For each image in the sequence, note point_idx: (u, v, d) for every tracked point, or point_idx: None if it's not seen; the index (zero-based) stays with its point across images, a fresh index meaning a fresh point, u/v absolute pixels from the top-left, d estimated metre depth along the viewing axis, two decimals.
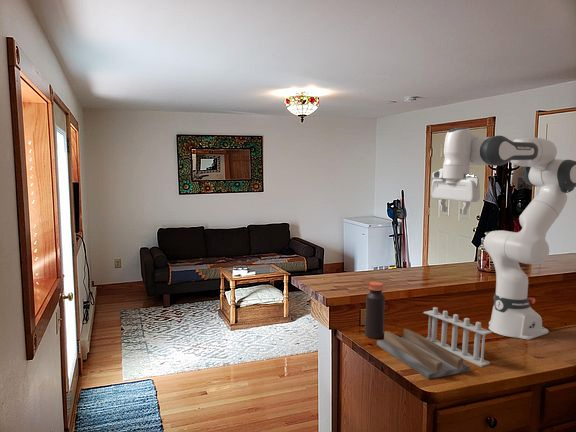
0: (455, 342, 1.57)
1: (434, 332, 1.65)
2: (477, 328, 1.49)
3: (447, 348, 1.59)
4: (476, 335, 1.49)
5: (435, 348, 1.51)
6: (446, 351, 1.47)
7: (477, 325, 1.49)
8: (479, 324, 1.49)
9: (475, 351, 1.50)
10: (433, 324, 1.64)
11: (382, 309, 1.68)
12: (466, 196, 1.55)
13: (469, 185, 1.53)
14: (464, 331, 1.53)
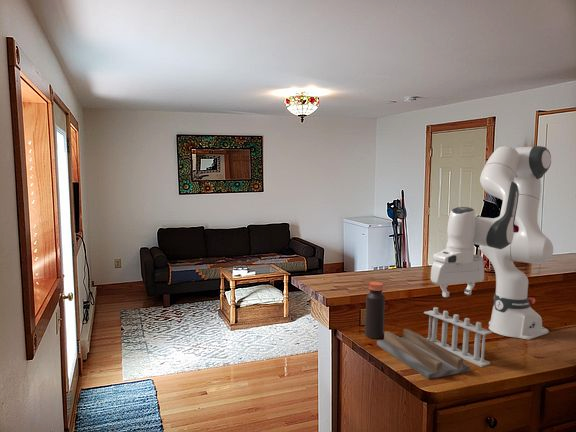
0: (455, 342, 1.57)
1: (434, 332, 1.65)
2: (477, 328, 1.49)
3: (447, 348, 1.59)
4: (476, 335, 1.49)
5: (435, 348, 1.51)
6: (446, 351, 1.47)
7: (477, 325, 1.49)
8: (479, 324, 1.49)
9: (475, 351, 1.50)
10: (434, 324, 1.64)
11: (382, 309, 1.68)
12: (478, 277, 1.57)
13: (482, 266, 1.57)
14: (464, 331, 1.53)
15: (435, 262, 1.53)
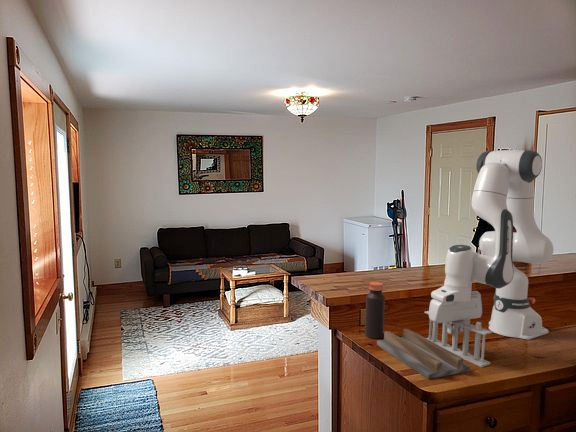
0: (456, 342, 1.57)
1: (435, 332, 1.65)
2: (477, 328, 1.49)
3: (448, 348, 1.59)
4: (476, 335, 1.49)
5: (435, 348, 1.51)
6: (446, 351, 1.47)
7: (477, 325, 1.49)
8: (479, 324, 1.48)
9: (475, 351, 1.50)
10: (434, 324, 1.64)
11: (382, 309, 1.68)
12: (476, 313, 1.58)
13: (480, 303, 1.58)
14: (464, 331, 1.53)
15: (433, 300, 1.54)
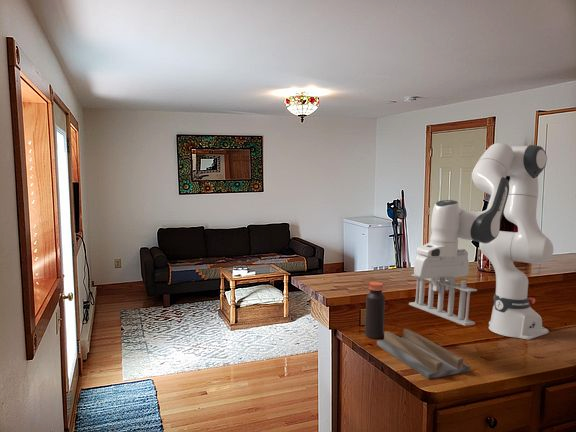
0: (441, 303, 1.52)
1: (421, 295, 1.60)
2: (462, 286, 1.44)
3: (433, 310, 1.55)
4: (461, 293, 1.45)
5: (435, 348, 1.51)
6: (446, 351, 1.47)
7: (462, 283, 1.44)
8: (464, 282, 1.44)
9: (460, 310, 1.45)
10: (421, 286, 1.60)
11: (382, 309, 1.68)
12: (463, 271, 1.54)
13: (466, 260, 1.54)
14: (450, 290, 1.49)
15: (418, 256, 1.50)
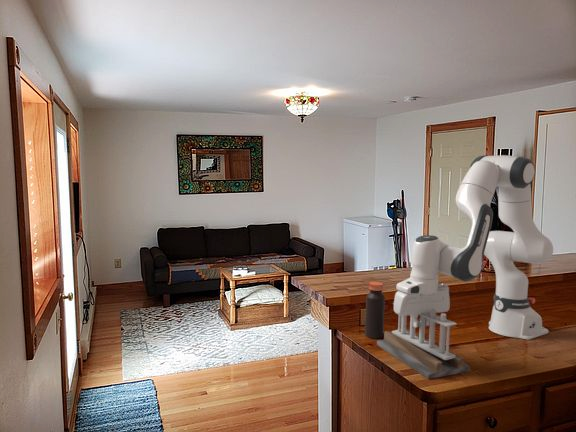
0: (422, 334, 1.51)
1: (403, 324, 1.59)
2: (442, 320, 1.42)
3: (415, 340, 1.53)
4: (441, 327, 1.43)
5: None
6: None
7: (442, 317, 1.42)
8: (444, 315, 1.42)
9: (440, 344, 1.43)
10: None
11: (382, 309, 1.68)
12: (443, 307, 1.52)
13: (447, 296, 1.52)
14: (430, 323, 1.47)
15: (398, 292, 1.49)
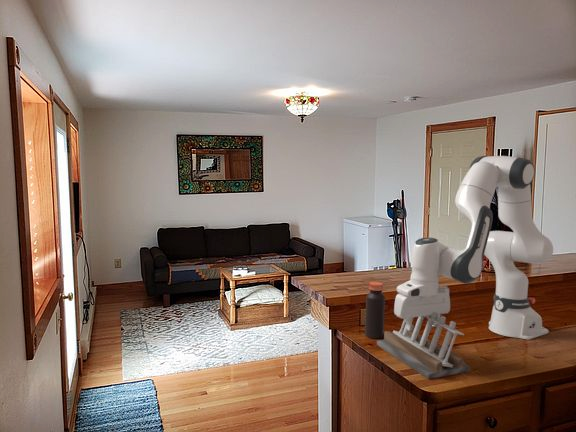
0: (425, 339, 1.51)
1: None
2: (450, 327, 1.43)
3: (415, 343, 1.53)
4: (447, 334, 1.43)
5: (435, 348, 1.51)
6: (446, 351, 1.47)
7: (451, 324, 1.43)
8: (453, 323, 1.43)
9: (441, 350, 1.44)
10: None
11: (382, 309, 1.68)
12: (444, 308, 1.53)
13: (448, 297, 1.53)
14: (437, 328, 1.48)
15: (398, 295, 1.49)
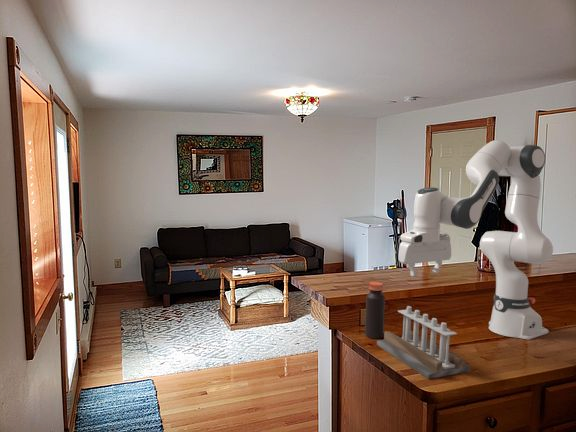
0: (424, 343, 1.52)
1: (407, 332, 1.60)
2: (442, 329, 1.43)
3: None
4: (441, 336, 1.43)
5: None
6: None
7: (442, 326, 1.43)
8: (444, 325, 1.42)
9: (440, 353, 1.44)
10: (407, 323, 1.60)
11: (382, 309, 1.68)
12: (445, 255, 1.60)
13: (449, 245, 1.60)
14: (431, 332, 1.47)
15: (402, 242, 1.56)
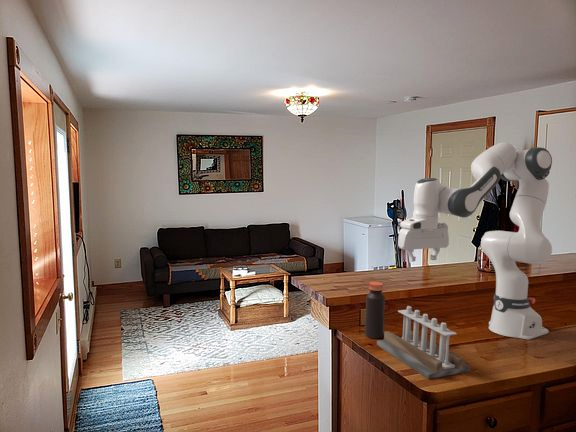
0: (424, 343, 1.52)
1: (407, 332, 1.60)
2: (442, 329, 1.43)
3: None
4: (441, 336, 1.43)
5: None
6: None
7: (442, 326, 1.43)
8: (444, 325, 1.42)
9: (440, 353, 1.44)
10: (407, 323, 1.59)
11: (382, 309, 1.68)
12: (443, 243, 1.68)
13: (446, 233, 1.68)
14: (431, 332, 1.47)
15: (402, 229, 1.65)
